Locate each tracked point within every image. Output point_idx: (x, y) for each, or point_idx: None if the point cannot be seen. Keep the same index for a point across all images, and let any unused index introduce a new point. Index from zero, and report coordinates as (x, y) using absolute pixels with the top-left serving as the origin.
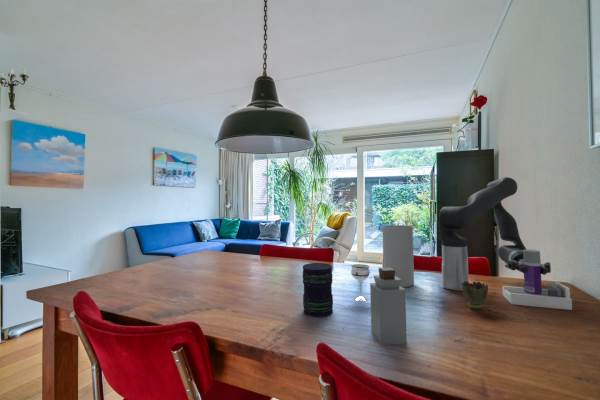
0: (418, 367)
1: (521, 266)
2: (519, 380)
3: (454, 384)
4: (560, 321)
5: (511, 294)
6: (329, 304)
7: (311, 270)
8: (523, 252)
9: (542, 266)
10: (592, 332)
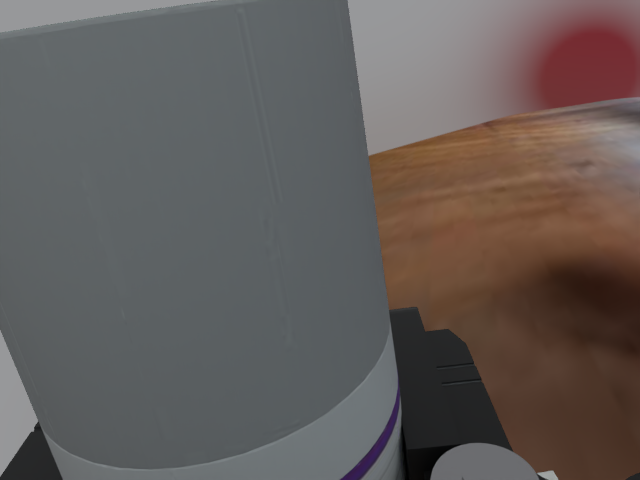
0: (588, 115)
1: (443, 402)
2: (446, 144)
3: (524, 118)
4: None
5: (549, 475)
6: None
7: None
8: (356, 72)
9: (37, 455)
10: None
